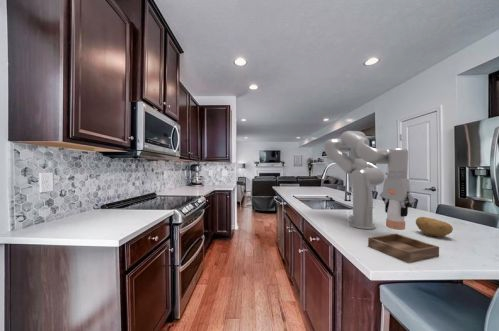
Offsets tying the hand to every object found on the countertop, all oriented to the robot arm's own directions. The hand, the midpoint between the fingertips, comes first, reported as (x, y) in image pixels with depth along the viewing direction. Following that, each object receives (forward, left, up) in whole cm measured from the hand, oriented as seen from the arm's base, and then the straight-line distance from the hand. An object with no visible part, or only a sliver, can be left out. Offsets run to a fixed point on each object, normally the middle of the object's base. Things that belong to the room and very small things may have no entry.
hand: (395, 213), depth 99 cm
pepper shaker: (0, 0, -6) cm, 6 cm away
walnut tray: (+12, -13, -11) cm, 21 cm away
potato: (+4, +20, -11) cm, 23 cm away
